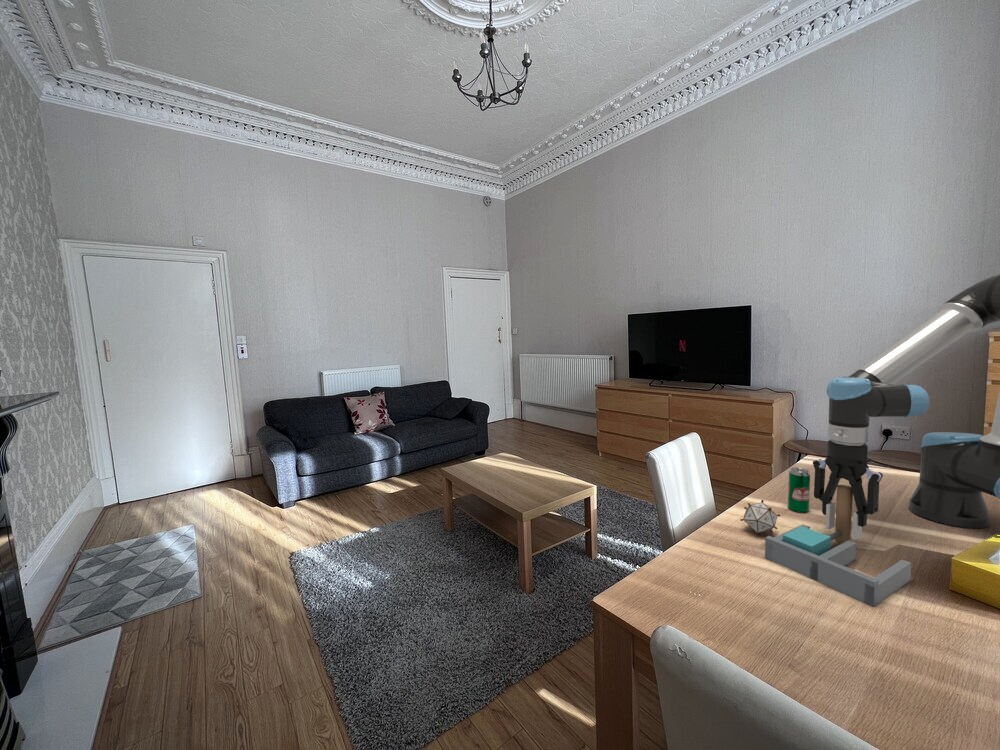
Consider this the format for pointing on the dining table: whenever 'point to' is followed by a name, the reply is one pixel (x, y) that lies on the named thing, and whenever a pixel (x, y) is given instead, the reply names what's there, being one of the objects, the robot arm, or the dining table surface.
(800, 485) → the soda can
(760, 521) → the game die
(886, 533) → the dining table surface
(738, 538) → the dining table surface
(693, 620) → the dining table surface
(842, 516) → the teal block-headed stick
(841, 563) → the lane rack
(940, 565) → the dining table surface
